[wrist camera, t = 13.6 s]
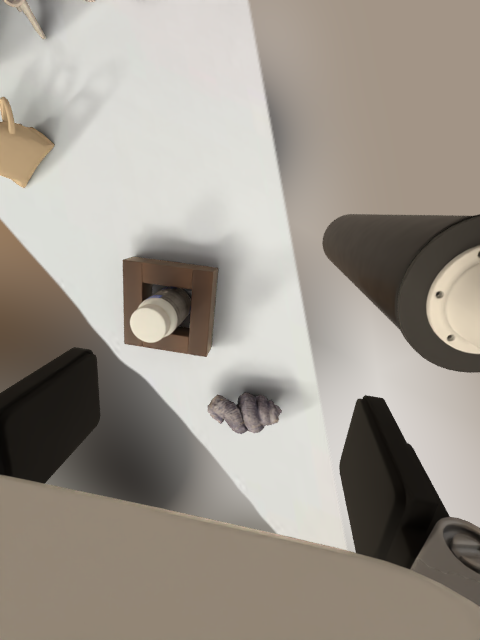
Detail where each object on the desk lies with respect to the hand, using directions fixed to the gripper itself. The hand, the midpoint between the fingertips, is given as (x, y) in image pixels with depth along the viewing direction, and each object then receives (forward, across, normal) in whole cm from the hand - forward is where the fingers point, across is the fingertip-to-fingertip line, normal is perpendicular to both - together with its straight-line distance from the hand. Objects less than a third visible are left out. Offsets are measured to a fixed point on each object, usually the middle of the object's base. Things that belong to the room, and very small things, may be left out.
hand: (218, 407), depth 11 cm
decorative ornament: (+28, +29, -10) cm, 42 cm away
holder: (+28, +11, +6) cm, 31 cm away
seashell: (+28, 0, +19) cm, 34 cm away
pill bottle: (+28, +11, +6) cm, 31 cm away
